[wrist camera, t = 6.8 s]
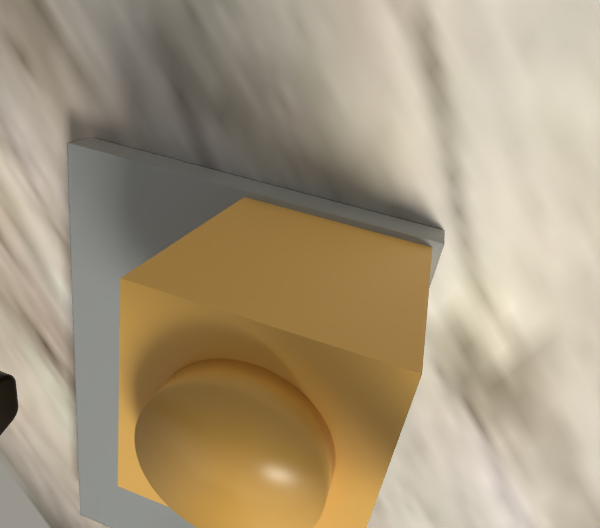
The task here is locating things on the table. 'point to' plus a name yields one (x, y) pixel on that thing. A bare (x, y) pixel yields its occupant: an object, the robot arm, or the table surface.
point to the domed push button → (269, 368)
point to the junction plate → (132, 253)
